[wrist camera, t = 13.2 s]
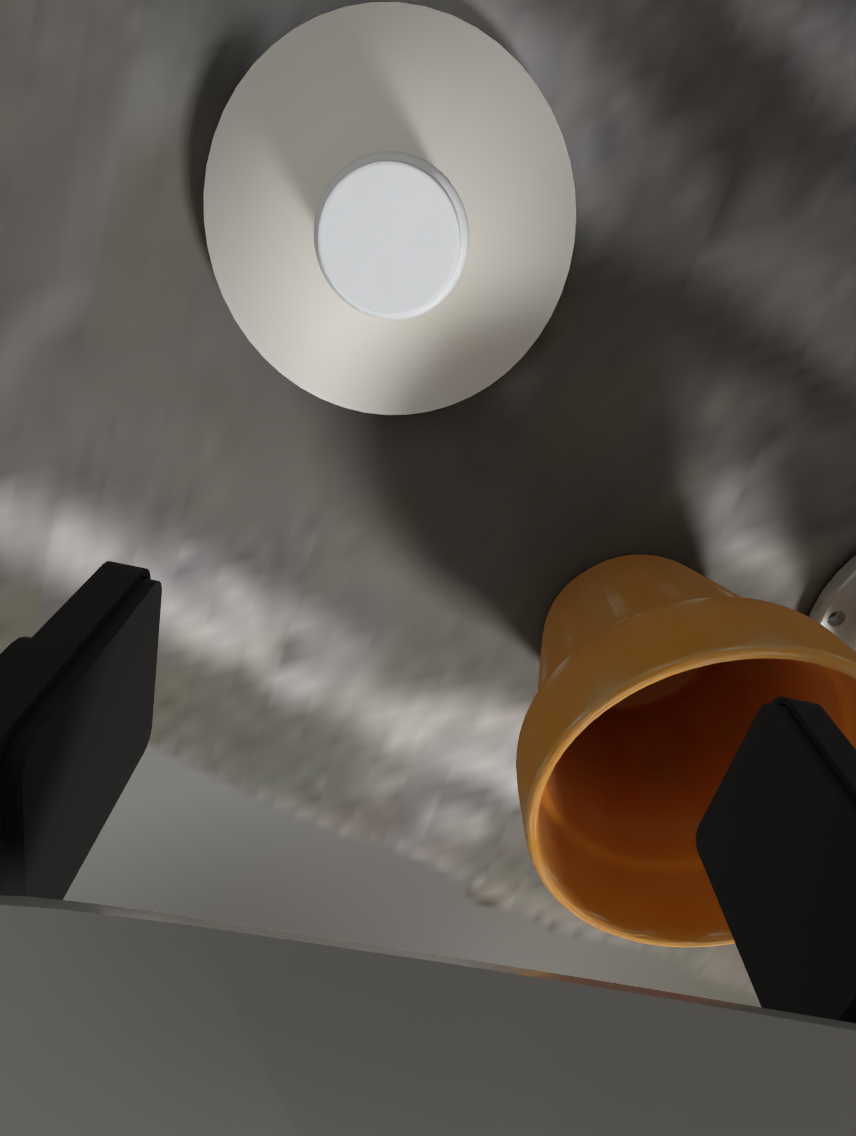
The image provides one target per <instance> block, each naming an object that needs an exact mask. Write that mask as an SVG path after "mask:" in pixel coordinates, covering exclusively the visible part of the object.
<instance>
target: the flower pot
mask: <svg viewBox="0 0 856 1136" xmlns="http://www.w3.org/2000/svg"><path fill="white" fill-rule="evenodd" d="M781 696H782V697H787V698H792V699H797V700H802V701H807V702H812V703H816V704H819V705H820V706H821V707H822V708H823V709H824V710H825V711H826V713H827V714H828V715H829V716H830V718H831V719H832V720H833V721H834V723H835V724H836V725H837V726H838V728H839V729H840V730H841V732H842V733H843V734H844V735H845V737H846V738H847V739H848V740H849V742H850V743H851V744H852V745H853V747H854V748H855V749H856V652H855V651H854V650H853V649H852V648H850V647H849V646H848V645H847V644H846V643H845V642H843V641H842V640H841V639H840V638H839V637H838V636H836V635H835V634H834V633H832V632H831V631H830V630H828V629H827V628H826V627H824V626H823V625H821V624H820V623H818V622H817V621H815V620H813V619H812V618H810V617H808V616H806V615H804V614H802V613H800V612H798V611H795V610H793V609H790V608H788V607H785V606H782V605H779V604H775V603H771V602H767V601H762V600H757V599H750V598H742V597H740V596H738V595H736V594H734V593H733V592H731V591H729V590H727V589H726V588H724V587H722V586H720V585H719V584H717V583H715V582H713V581H711V580H710V579H708V578H706V577H704V576H702V575H701V574H699V573H697V572H695V571H694V570H692V569H690V568H688V567H686V566H684V565H682V564H680V563H678V562H676V561H673V560H671V559H668V558H664V557H661V556H655V555H641V554H634V555H624V556H619V557H615V558H612V559H609V560H606V561H603V562H601V563H599V564H597V565H595V566H593V567H591V568H589V569H588V570H586V571H585V572H583V573H582V574H580V575H578V576H577V577H576V578H574V579H573V580H572V581H570V582H569V583H568V584H567V585H566V586H565V588H564V589H563V590H562V591H561V592H560V593H559V595H558V596H557V597H556V599H555V601H554V602H553V604H552V606H551V608H550V610H549V612H548V615H547V617H546V621H545V624H544V631H543V638H542V648H541V658H540V669H539V683H538V692H537V694H536V696H535V698H534V699H533V701H532V703H531V705H530V707H529V709H528V711H527V713H526V716H525V719H524V721H523V724H522V728H521V731H520V735H519V741H518V747H517V759H516V769H517V783H518V792H519V799H520V806H521V812H522V818H523V824H524V830H525V836H526V841H527V847H528V850H529V854H530V857H531V860H532V862H533V865H534V867H535V869H536V871H537V873H538V875H539V877H540V879H541V880H542V882H543V883H544V885H545V886H546V887H547V889H548V890H549V891H550V893H551V894H552V895H553V896H554V897H555V898H556V899H557V901H559V902H560V903H561V904H562V905H563V906H564V907H565V908H566V909H568V910H569V911H570V912H571V913H573V914H574V915H575V916H577V917H579V918H580V919H582V920H583V921H585V922H586V923H588V924H590V925H592V926H594V927H596V928H598V929H600V930H602V931H605V932H607V933H610V934H613V935H616V936H619V937H622V938H625V939H628V940H632V941H636V942H640V943H646V944H652V945H659V946H667V947H709V946H719V945H727V944H734V943H735V941H734V939H733V936H732V934H731V931H730V929H729V927H728V924H727V922H726V919H725V917H724V914H723V912H722V910H721V907H720V905H719V902H718V900H717V897H716V895H715V893H714V890H713V888H712V885H711V883H710V880H709V878H708V876H707V873H706V871H705V868H704V866H703V863H702V861H701V859H700V856H699V854H698V851H697V848H696V832H697V828H698V826H699V824H700V822H701V820H702V818H703V816H704V814H705V812H706V810H707V808H708V806H709V804H710V802H711V801H712V799H713V797H714V795H715V793H716V791H717V789H718V787H719V785H720V783H721V781H722V779H723V778H724V776H725V774H726V772H727V770H728V768H729V766H730V764H731V762H732V760H733V758H734V756H735V754H736V753H737V751H738V749H739V747H740V745H741V743H742V741H743V739H744V737H745V735H746V733H747V731H748V730H749V728H750V726H751V724H752V722H753V720H754V718H755V716H756V714H757V712H758V710H759V709H760V708H761V706H763V705H764V704H766V703H771V702H772V701H773V700H774V699H776V698H777V697H781Z"/></svg>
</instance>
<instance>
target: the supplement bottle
mask: <svg viewBox="0 0 856 1136" xmlns="http://www.w3.org/2000/svg"><path fill="white" fill-rule="evenodd" d="M314 247H315V252H316V256H317V260H318V263H319V266H320V269H321V271H322V273H323V275H324V277H325V279H326V280H327V282H328V284H329V285H330V286H331V288H332V289H333V290H334V291H335V293H336V294H337V295H338V296H339V297H340V298H341V299H342V300H343V301H344V302H346V303H347V304H348V305H349V306H351V307H352V308H354V309H356V310H357V311H359V312H361V313H363V314H366V315H368V316H372V317H375V318H380V319H389V320H403V319H409V318H413V317H416V316H419V315H422V314H424V313H426V312H427V311H429V310H431V309H432V308H434V307H435V306H437V305H438V304H439V303H441V302H442V301H443V300H444V299H445V298H446V297H447V296H448V295H449V293H450V292H451V291H452V289H453V288H454V287H455V285H456V284H457V282H458V280H459V278H460V276H461V274H462V272H463V269H464V266H465V263H466V259H467V255H468V249H469V226H468V219H467V215H466V211H465V208H464V205H463V203H462V201H461V199H460V197H459V195H458V193H457V191H456V190H455V188H454V186H453V185H452V184H451V182H450V181H449V179H448V178H447V177H446V176H445V175H444V174H443V173H442V172H441V171H440V170H438V169H437V168H436V167H434V166H433V165H432V164H430V163H429V162H427V161H426V160H424V159H422V158H419V157H416V156H414V155H411V154H408V153H405V152H398V151H381V152H375V153H371V154H367V155H364V156H362V157H360V158H357V159H356V160H354V161H352V162H351V163H349V164H348V165H346V166H345V167H344V168H343V169H341V170H340V171H339V172H338V173H337V174H336V175H335V176H334V178H333V179H332V180H331V181H330V183H329V184H328V186H327V187H326V189H325V191H324V192H323V194H322V196H321V199H320V201H319V204H318V207H317V211H316V215H315V221H314Z"/></svg>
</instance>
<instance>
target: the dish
mask: <svg viewBox="0 0 856 1136" xmlns="http://www.w3.org/2000/svg"><path fill="white" fill-rule="evenodd" d="M381 151H398V152H405V153H408V154H411V155H414V156H416V157H419V158H422V159H424V160H426V161H427V162H429V163H430V164H432V165H433V166H434V167H436V168H437V169H438V170H440V171H441V172H442V173H443V174H444V175H445V176H446V177H447V178H448V179H449V181H450V182H451V184H452V185H453V186H454V188H455V190H456V191H457V193H458V195H459V197H460V199H461V201H462V203H463V205H464V208H465V211H466V215H467V219H468V226H469V249H468V255H467V259H466V263H465V266H464V269H463V272H462V274H461V276H460V278H459V280H458V282H457V284H456V285H455V287H454V288H453V289H452V291H451V292H450V293H449V295H448V296H447V297H446V298H445V299H444V300H443V301H442V302H441V303H439V304H438V305H437V306H435V307H434V308H432V309H431V310H429V311H427V312H426V313H424V314H422V315H419V316H416V317H413V318H409V319H403V320H389V319H380V318H375V317H372V316H368V315H366V314H363V313H361V312H359V311H357V310H356V309H354V308H352V307H351V306H349V305H348V304H347V303H346V302H344V301H343V300H342V299H341V298H340V297H339V296H338V295H337V294H336V293H335V291H334V290H333V289H332V288H331V286H330V285H329V284H328V282H327V280H326V279H325V277H324V275H323V273H322V271H321V269H320V266H319V263H318V260H317V256H316V252H315V247H314V221H315V215H316V211H317V207H318V204H319V201H320V199H321V196H322V194H323V192H324V191H325V189H326V187H327V186H328V184H329V183H330V181H331V180H332V179H333V178H334V176H335V175H336V174H337V173H338V172H339V171H340V170H341V169H343V168H344V167H345V166H346V165H348V164H349V163H351V162H352V161H354V160H356V159H357V158H360V157H362V156H364V155H367V154H371V153H375V152H381ZM204 225H205V233H206V240H207V247H208V251H209V255H210V259H211V263H212V267H213V271H214V274H215V277H216V280H217V282H218V285H219V287H220V290H221V293H222V295H223V298H224V300H225V302H226V303H227V305H228V307H229V309H230V311H231V313H232V315H233V317H234V319H235V321H236V322H237V323H238V325H239V326H240V328H241V329H242V331H243V332H244V334H245V335H246V337H247V338H248V340H249V341H250V342H251V343H252V344H253V346H254V347H255V348H256V349H257V350H258V351H259V353H260V354H261V355H262V356H263V357H264V358H265V359H266V360H267V361H268V362H269V363H270V364H271V365H272V366H273V367H274V368H276V369H277V370H278V371H279V372H280V373H281V374H282V375H284V376H285V377H286V378H288V379H289V380H291V381H292V382H293V383H295V384H296V385H298V386H299V387H300V388H302V389H304V390H306V391H307V392H309V393H311V394H313V395H315V396H317V397H319V398H320V399H323V400H325V401H328V402H330V403H333V404H335V405H338V406H341V407H344V408H348V409H352V410H356V411H360V412H364V413H372V414H381V415H409V414H416V413H423V412H429V411H433V410H436V409H440V408H444V407H447V406H450V405H453V404H455V403H457V402H460V401H462V400H465V399H467V398H469V397H471V396H473V395H475V394H476V393H478V392H480V391H481V390H483V389H485V388H487V387H488V386H490V385H491V384H492V383H494V382H495V381H496V380H498V379H499V378H500V377H502V376H503V375H504V374H505V373H507V372H508V371H509V370H510V369H511V368H512V367H513V366H514V365H515V364H516V363H517V362H518V361H519V360H520V359H521V358H522V357H523V356H524V355H525V354H526V352H527V351H528V350H529V349H530V347H531V346H532V345H533V343H534V342H535V341H536V340H537V338H538V337H539V335H540V334H541V332H542V331H543V329H544V327H545V326H546V324H547V322H548V321H549V319H550V317H551V316H552V313H553V311H554V309H555V307H556V305H557V302H558V300H559V298H560V296H561V294H562V291H563V288H564V284H565V281H566V278H567V275H568V272H569V269H570V263H571V258H572V253H573V248H574V242H575V229H576V196H575V185H574V179H573V173H572V167H571V162H570V158H569V155H568V151H567V148H566V144H565V141H564V138H563V135H562V132H561V130H560V128H559V125H558V123H557V121H556V118H555V116H554V114H553V111H552V109H551V108H550V106H549V104H548V103H547V101H546V99H545V98H544V96H543V94H542V93H541V91H540V89H539V87H538V86H537V84H536V83H535V82H534V81H533V79H532V78H531V77H530V76H529V74H528V73H527V72H526V71H525V69H524V68H523V67H522V65H521V64H520V63H519V62H518V61H517V60H516V59H515V58H514V57H513V56H512V55H511V54H510V53H509V52H507V51H506V50H505V49H504V48H503V47H502V46H501V45H500V44H499V43H498V42H496V41H495V40H493V39H492V38H491V37H489V36H488V35H486V34H485V33H484V32H482V31H481V30H479V29H478V28H477V27H475V26H473V25H471V24H469V23H467V22H465V21H463V20H461V19H459V18H457V17H455V16H453V15H451V14H448V13H444V12H441V11H438V10H435V9H432V8H429V7H426V6H420V5H414V4H408V3H401V2H369V3H363V4H357V5H351V6H345V7H342V8H339V9H336V10H333V11H330V12H327V13H324V14H321V15H319V16H317V17H315V18H313V19H311V20H309V21H307V22H305V23H303V24H302V25H300V26H298V27H296V28H294V29H293V30H291V31H290V32H289V33H287V34H286V35H285V36H283V37H282V38H281V39H279V40H278V41H277V42H275V43H274V44H273V45H272V46H271V47H270V48H269V49H268V50H267V51H266V52H265V53H264V54H263V55H262V56H261V57H260V58H259V59H258V60H257V61H256V62H255V63H254V64H253V65H252V66H251V68H250V69H249V70H248V72H247V73H246V74H245V76H244V77H243V79H242V80H241V81H240V83H239V84H238V85H237V87H236V88H235V90H234V92H233V94H232V96H231V98H230V100H229V101H228V103H227V105H226V107H225V109H224V111H223V113H222V115H221V118H220V121H219V123H218V126H217V129H216V131H215V134H214V137H213V140H212V144H211V148H210V153H209V157H208V161H207V166H206V175H205V184H204Z"/></svg>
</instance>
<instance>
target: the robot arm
mask: <svg viewBox="0 0 856 1136" xmlns="http://www.w3.org/2000/svg"><path fill="white" fill-rule="evenodd" d="M161 594H162V586H161V583H160V581H155V580H150V572H149V570H148V569H145V568H140V567H135V566H130V565H125V564H121V563H116V562H111V561H107V562H106V563H104V564H103V565H102V566H101V567H100V568H99V569H98V570H97V571H96V572H95V573H94V574H93V575H92V576H91V577H90V578H89V579H88V580H87V581H86V582H85V583H84V584H83V585H82V586H81V588H80V589H79V590H78V591H77V592H76V593H75V594H74V595H73V596H72V597H71V598H70V599H69V600H68V601H67V602H66V603H65V604H64V605H63V606H62V607H61V608H60V609H59V610H58V611H57V612H56V613H55V614H54V615H53V616H52V617H51V618H50V619H49V620H48V621H47V622H46V623H45V625H44V626H43V627H42V628H41V629H40V630H39V631H38V632H37V633H36V634H35V635H34V636H33V637H32V638H30V637H21V638H18V639H17V640H15V641H14V642H13V643H11V644H10V645H9V646H8V647H7V648H6V649H5V650H4V651H3V652H2V653H1V654H0V1136H856V749H855V748H854V747H853V745H852V744H851V743H850V742H849V740H848V739H847V738H846V737H845V735H844V734H843V733H842V732H841V730H840V729H839V728H838V726H837V725H836V724H835V723H834V721H833V720H832V719H831V718H830V716H829V715H828V714H827V713H826V711H825V710H824V709H823V708H822V707H821V706H820V705H819V704H816V703H812V702H807V701H802V700H797V699H792V698H787V697H782V696H781V697H777V698H776V699H774V700H773V701H772V702H771V703H766V704H764V705H763V706H761V708H760V709H759V710H758V712H757V714H756V716H755V718H754V720H753V722H752V724H751V726H750V728H749V730H748V731H747V733H746V735H745V737H744V739H743V741H742V743H741V745H740V747H739V749H738V751H737V753H736V754H735V756H734V758H733V760H732V762H731V764H730V766H729V768H728V770H727V772H726V774H725V776H724V778H723V779H722V781H721V783H720V785H719V787H718V789H717V791H716V793H715V795H714V797H713V799H712V801H711V802H710V804H709V806H708V808H707V810H706V812H705V814H704V816H703V818H702V820H701V822H700V824H699V826H698V828H697V832H696V848H697V851H698V854H699V856H700V859H701V861H702V863H703V866H704V868H705V871H706V873H707V876H708V878H709V880H710V883H711V885H712V888H713V890H714V893H715V895H716V897H717V900H718V902H719V905H720V907H721V910H722V912H723V914H724V917H725V919H726V922H727V924H728V927H729V929H730V931H731V934H732V936H733V939H734V941H735V944H736V946H737V948H738V951H739V953H740V956H741V958H742V961H743V963H744V965H745V968H746V970H747V973H748V975H749V978H750V980H751V982H752V985H753V987H754V990H755V992H756V994H757V997H758V999H759V1002H760V1004H761V1007H762V1008H760V1007H755V1006H748V1005H743V1004H736V1003H730V1002H725V1001H719V1000H713V999H707V998H701V997H694V996H689V995H683V994H677V993H671V992H665V991H659V990H653V989H646V988H640V987H634V986H628V985H621V984H616V983H609V982H603V981H597V980H591V979H585V978H579V977H573V976H567V975H560V974H554V973H548V972H542V971H536V970H529V969H523V968H517V967H511V966H505V965H498V964H492V963H486V962H479V961H473V960H466V959H461V958H454V957H449V956H442V955H436V954H430V953H423V952H417V951H411V950H403V949H397V948H391V947H384V946H378V945H372V944H365V943H359V942H352V941H346V940H340V939H333V938H327V937H320V936H314V935H308V934H301V933H294V932H288V931H282V930H275V929H269V928H263V927H255V926H250V925H243V924H237V923H230V922H223V921H216V920H210V919H202V918H195V917H188V916H181V915H175V914H167V913H161V912H154V911H147V910H139V909H132V908H124V907H117V906H108V905H101V904H92V903H83V902H74V901H65V900H63V898H64V896H65V895H66V893H67V891H68V889H69V887H70V885H71V883H72V882H73V880H74V878H75V876H76V875H77V873H78V871H79V869H80V867H81V865H82V864H83V862H84V860H85V858H86V857H87V855H88V853H89V851H90V849H91V848H92V846H93V844H94V842H95V840H96V838H97V837H98V835H99V833H100V831H101V829H102V828H103V825H104V824H105V822H106V820H107V818H108V817H109V815H110V813H111V811H112V809H113V808H114V806H115V804H116V802H117V800H118V799H119V797H120V795H121V793H122V791H123V789H124V788H125V786H126V784H127V782H128V781H129V779H130V777H131V775H132V773H133V771H134V770H135V768H136V766H137V764H138V762H139V761H140V758H141V757H142V755H143V753H144V751H145V749H146V747H147V744H148V741H149V738H150V734H151V729H152V718H153V704H154V690H155V677H156V663H157V649H158V635H159V622H160V608H161ZM809 617H810V618H812V619H813V620H815V621H817V622H818V623H820V624H821V625H823V626H824V627H826V628H827V629H828V630H830V631H831V632H832V633H834V634H835V635H836V636H838V637H839V638H840V639H841V640H842V641H843V642H845V643H846V644H847V645H848V646H849V647H850V648H852V649H853V650H854V651H855V652H856V555H855V556H854V557H853V558H852V559H851V560H850V561H849V562H848V563H846V564H845V565H844V566H843V567H842V568H841V569H840V570H839V571H838V572H837V573H836V574H835V576H834V577H833V578H832V579H831V581H830V582H829V583H828V584H827V586H826V587H825V588H824V590H823V591H822V592H821V594H820V596H819V598H818V599H817V601H816V603H815V605H814V607H813V609H812V610H811V612H810V615H809Z"/></svg>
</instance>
